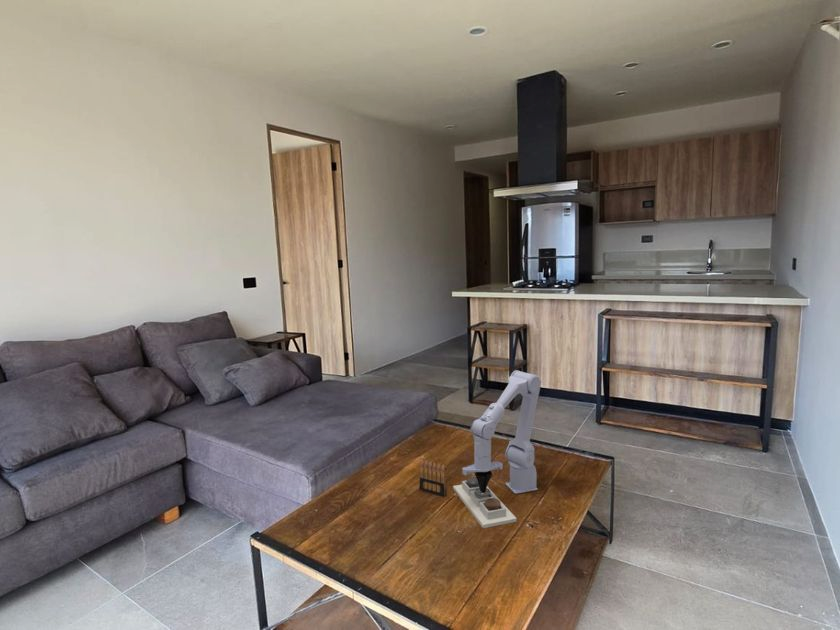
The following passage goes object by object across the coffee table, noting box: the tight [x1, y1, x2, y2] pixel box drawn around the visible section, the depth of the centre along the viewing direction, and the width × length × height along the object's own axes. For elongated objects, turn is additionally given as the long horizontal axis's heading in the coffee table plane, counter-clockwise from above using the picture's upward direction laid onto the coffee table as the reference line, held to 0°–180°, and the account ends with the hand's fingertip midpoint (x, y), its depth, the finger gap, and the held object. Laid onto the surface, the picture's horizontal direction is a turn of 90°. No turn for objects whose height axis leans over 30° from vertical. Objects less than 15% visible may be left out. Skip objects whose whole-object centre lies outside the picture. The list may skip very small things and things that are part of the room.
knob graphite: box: [466, 476, 479, 488], centre depth 172 cm, size 5×5×4 cm
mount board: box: [452, 479, 517, 529], centre depth 165 cm, size 12×27×4 cm, turn 17°
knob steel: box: [475, 487, 491, 499], centre depth 165 cm, size 5×5×4 cm
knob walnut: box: [485, 498, 501, 511], centre depth 157 cm, size 5×5×4 cm
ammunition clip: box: [418, 459, 447, 498], centre depth 173 cm, size 11×2×12 cm, turn 59°
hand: (482, 490), depth 164 cm, fingers closed
